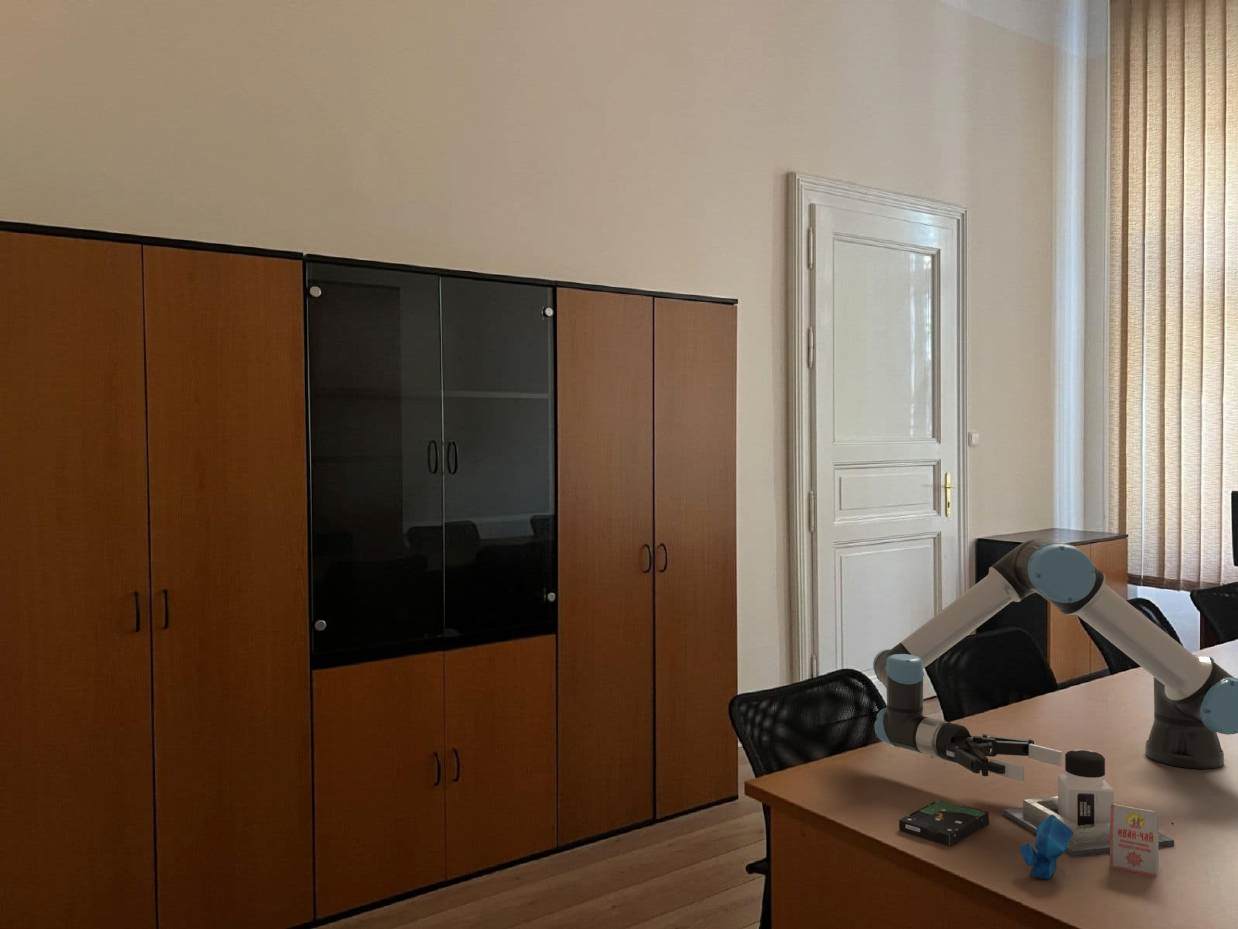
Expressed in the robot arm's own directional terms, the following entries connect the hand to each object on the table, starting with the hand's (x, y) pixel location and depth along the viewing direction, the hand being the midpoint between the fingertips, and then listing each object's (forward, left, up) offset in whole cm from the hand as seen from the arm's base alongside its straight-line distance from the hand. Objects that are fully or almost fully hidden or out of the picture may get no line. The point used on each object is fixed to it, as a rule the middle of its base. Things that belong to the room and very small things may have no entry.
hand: (1042, 766), depth 185 cm
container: (-4, +7, -9) cm, 12 cm away
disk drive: (+21, 0, -10) cm, 23 cm away
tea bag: (0, +23, -10) cm, 25 cm away
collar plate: (-3, +7, -10) cm, 12 cm away
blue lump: (+15, +21, -10) cm, 28 cm away
